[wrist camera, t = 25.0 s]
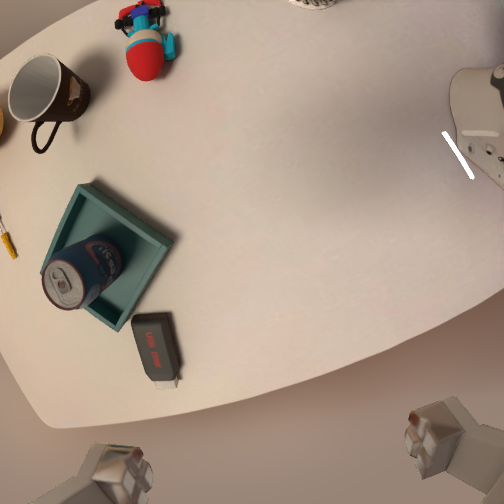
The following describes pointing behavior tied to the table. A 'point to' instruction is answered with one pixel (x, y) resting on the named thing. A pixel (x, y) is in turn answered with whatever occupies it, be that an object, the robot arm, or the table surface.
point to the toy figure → (145, 40)
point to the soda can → (82, 272)
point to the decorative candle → (312, 4)
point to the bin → (129, 240)
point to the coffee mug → (46, 95)
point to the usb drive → (157, 348)
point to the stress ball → (1, 121)
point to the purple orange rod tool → (7, 244)
